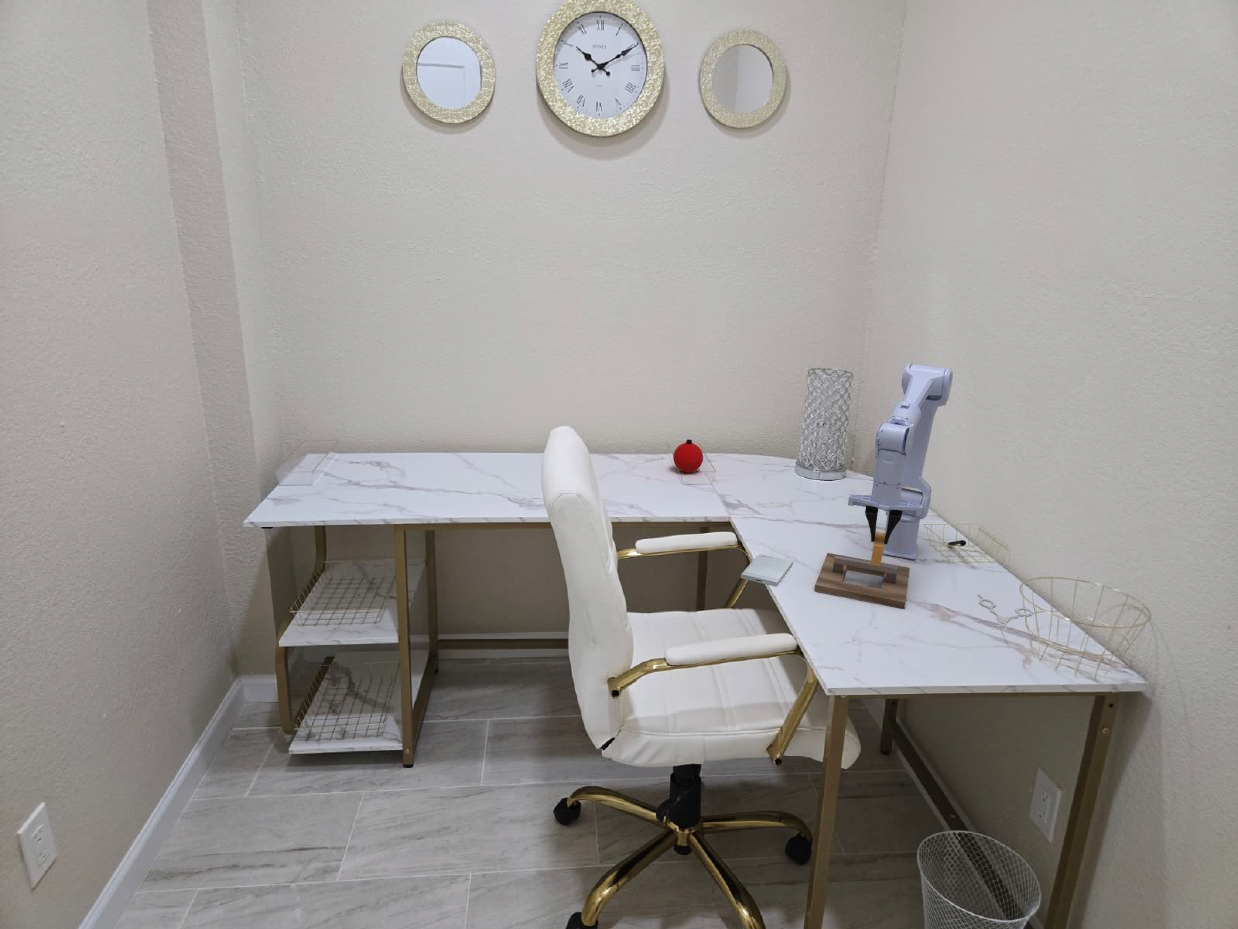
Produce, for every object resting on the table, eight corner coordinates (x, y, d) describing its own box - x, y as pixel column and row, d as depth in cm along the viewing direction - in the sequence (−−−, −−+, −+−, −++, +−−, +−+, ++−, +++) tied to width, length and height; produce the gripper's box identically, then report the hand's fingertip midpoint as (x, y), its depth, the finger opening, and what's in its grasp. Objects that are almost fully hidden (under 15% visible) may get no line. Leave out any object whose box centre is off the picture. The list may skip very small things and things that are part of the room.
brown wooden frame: (826, 558, 182) (827, 552, 182) (909, 573, 176) (910, 567, 176) (814, 591, 167) (815, 584, 166) (904, 609, 160) (905, 602, 160)
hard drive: (758, 553, 182) (740, 573, 171) (793, 560, 178) (777, 581, 168) (757, 560, 182) (740, 580, 172) (792, 567, 179) (777, 588, 168)
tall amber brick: (873, 550, 173) (876, 531, 172) (883, 552, 172) (885, 533, 171) (870, 565, 166) (873, 545, 164) (880, 566, 165) (883, 547, 164)
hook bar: (833, 568, 174) (835, 555, 173) (895, 580, 170) (897, 566, 169) (832, 572, 172) (834, 558, 171) (895, 583, 168) (897, 570, 167)
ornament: (694, 478, 234) (696, 445, 231) (667, 472, 238) (669, 440, 235) (707, 470, 242) (709, 438, 238) (680, 465, 246) (682, 434, 243)
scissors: (1033, 606, 162) (1028, 650, 146) (1033, 610, 163) (1027, 654, 146) (977, 593, 167) (966, 634, 151) (977, 597, 168) (965, 638, 151)
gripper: (849, 481, 162) (841, 542, 167) (925, 492, 157) (914, 554, 162) (853, 471, 169) (845, 530, 173) (925, 481, 164) (916, 542, 168)
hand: (879, 541), depth 168 cm, fingers closed on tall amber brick, 2 cm apart
